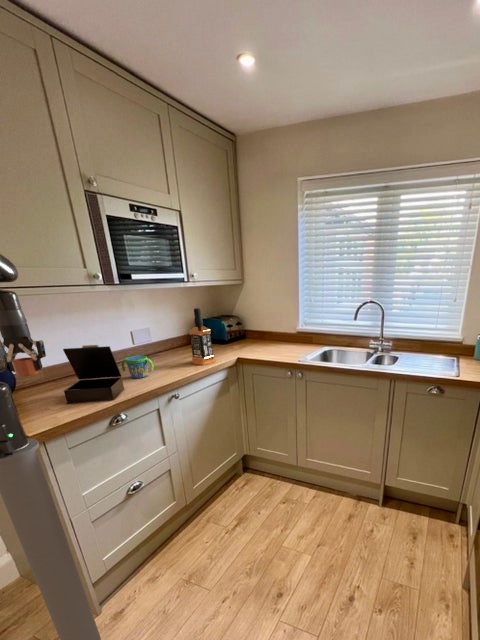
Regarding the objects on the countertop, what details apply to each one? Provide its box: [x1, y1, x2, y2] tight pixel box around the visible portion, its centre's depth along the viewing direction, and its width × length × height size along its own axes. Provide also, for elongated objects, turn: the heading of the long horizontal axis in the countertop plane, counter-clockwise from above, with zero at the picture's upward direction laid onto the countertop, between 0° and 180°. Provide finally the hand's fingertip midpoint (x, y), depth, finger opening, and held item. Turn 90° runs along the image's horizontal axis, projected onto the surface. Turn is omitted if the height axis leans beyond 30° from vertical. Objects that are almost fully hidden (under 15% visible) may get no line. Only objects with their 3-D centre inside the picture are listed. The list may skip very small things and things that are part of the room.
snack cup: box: [121, 355, 155, 379], centre depth 172 cm, size 16×10×10 cm
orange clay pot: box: [12, 356, 40, 378], centre depth 117 cm, size 6×6×6 cm
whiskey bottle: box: [188, 307, 216, 366], centre depth 196 cm, size 10×10×32 cm
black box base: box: [63, 376, 125, 405], centre depth 145 cm, size 16×18×6 cm
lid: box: [62, 344, 123, 381], centre depth 147 cm, size 16×18×5 cm
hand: (27, 370), depth 117 cm, fingers closed on orange clay pot, 6 cm apart
